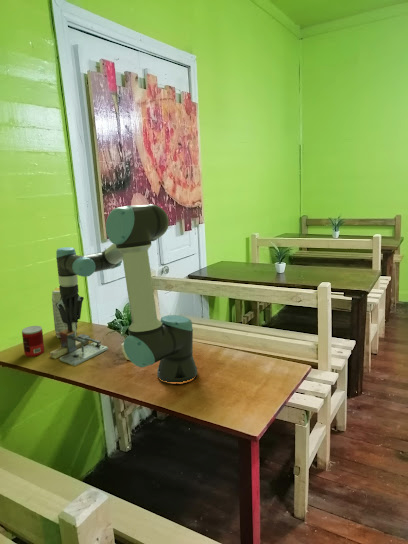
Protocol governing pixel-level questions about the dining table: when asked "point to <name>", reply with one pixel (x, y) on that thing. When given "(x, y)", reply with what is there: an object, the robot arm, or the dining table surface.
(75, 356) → the bolt plate
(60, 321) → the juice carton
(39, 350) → the canned food
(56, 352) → the rail
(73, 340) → the slide leg
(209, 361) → the dining table surface
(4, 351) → the dining table surface
